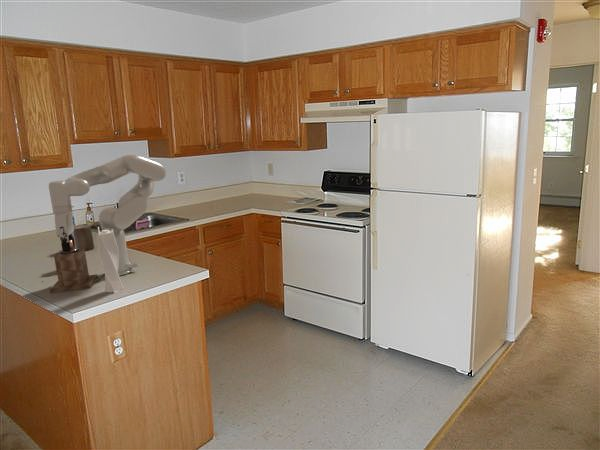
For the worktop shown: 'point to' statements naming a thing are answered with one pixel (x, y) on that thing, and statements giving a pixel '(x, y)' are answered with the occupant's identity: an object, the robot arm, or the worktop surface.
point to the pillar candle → (83, 237)
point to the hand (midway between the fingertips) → (69, 248)
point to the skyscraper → (109, 260)
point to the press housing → (72, 271)
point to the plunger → (73, 249)
